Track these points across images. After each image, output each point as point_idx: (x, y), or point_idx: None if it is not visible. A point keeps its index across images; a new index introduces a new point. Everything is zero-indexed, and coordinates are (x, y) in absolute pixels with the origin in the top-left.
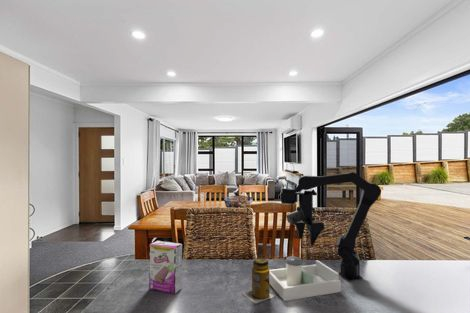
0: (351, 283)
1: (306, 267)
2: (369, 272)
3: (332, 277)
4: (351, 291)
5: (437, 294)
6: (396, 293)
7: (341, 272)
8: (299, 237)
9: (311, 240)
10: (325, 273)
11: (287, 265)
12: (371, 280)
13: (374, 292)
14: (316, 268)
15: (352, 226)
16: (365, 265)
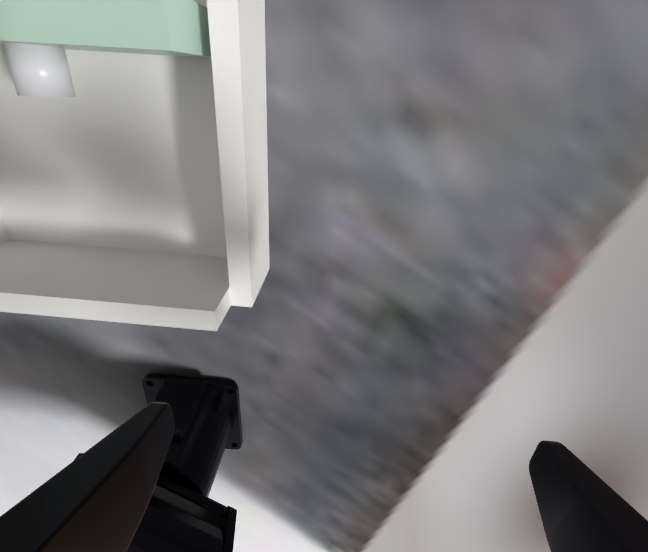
0: (118, 362)
1: (226, 194)
2: (222, 494)
3: (6, 265)
4: None
5: None
6: (21, 443)
7: (191, 390)
8: (555, 458)
9: (59, 475)
10: (95, 269)
11: None
12: None
13: (24, 384)
14: (224, 275)
15: None
16: (296, 527)
